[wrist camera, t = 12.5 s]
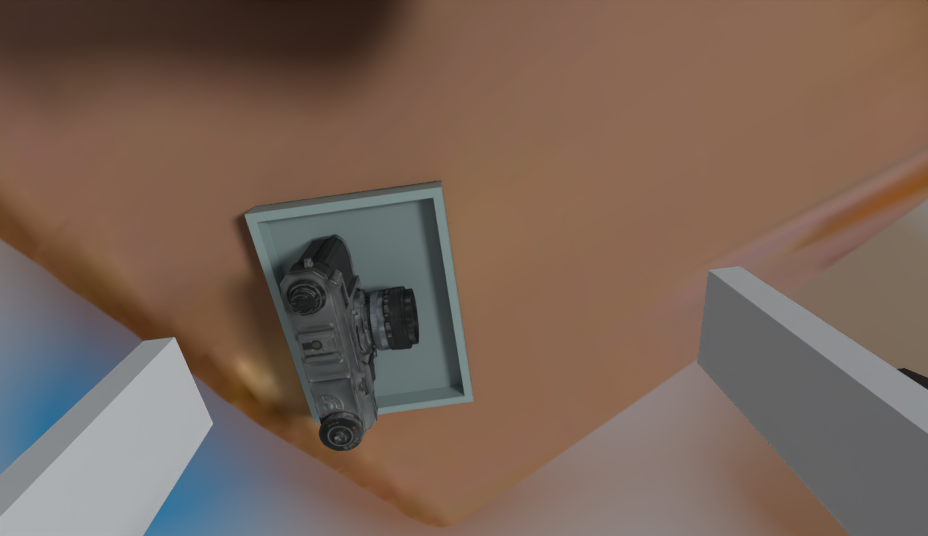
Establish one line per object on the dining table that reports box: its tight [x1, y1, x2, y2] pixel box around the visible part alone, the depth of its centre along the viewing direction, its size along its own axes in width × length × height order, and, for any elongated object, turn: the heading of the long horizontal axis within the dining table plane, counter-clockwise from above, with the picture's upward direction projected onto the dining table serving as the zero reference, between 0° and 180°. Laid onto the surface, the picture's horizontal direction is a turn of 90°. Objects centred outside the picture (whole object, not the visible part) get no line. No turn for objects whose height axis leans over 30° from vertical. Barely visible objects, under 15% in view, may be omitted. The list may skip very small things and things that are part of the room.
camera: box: [280, 234, 419, 451], centre depth 39 cm, size 18×9×10 cm, turn 8°
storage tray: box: [244, 181, 473, 423], centre depth 43 cm, size 23×17×2 cm
